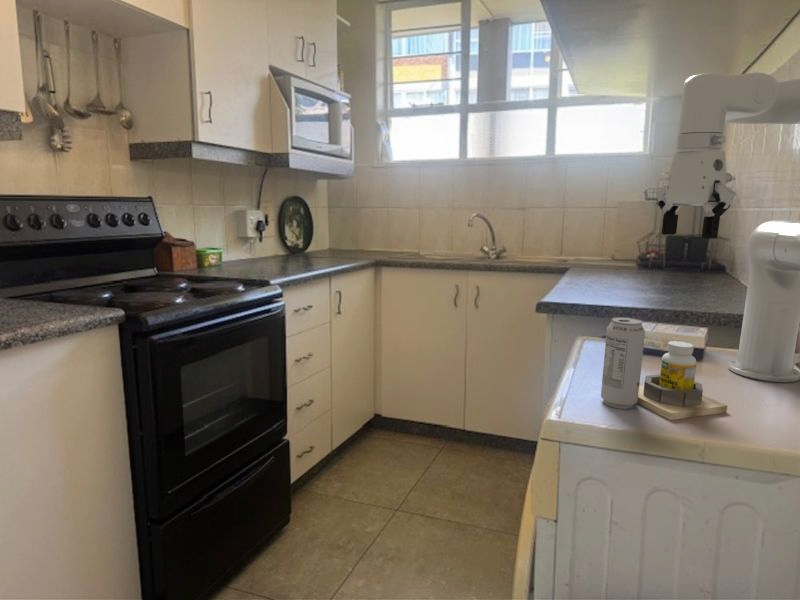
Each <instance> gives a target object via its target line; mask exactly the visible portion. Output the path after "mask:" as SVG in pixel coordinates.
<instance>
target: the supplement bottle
mask: <svg viewBox="0 0 800 600" xmlns="http://www.w3.org/2000/svg"><path fill="white" fill-rule="evenodd" d="M666 349H667V352H665V353H664V354H663V355H662V358H661V364H660V365H661V366H660V372H659V374H660V383H659V386H661V387H663V388H668V389H674V390H681V391H685V390H693V388H694V381H695V379H696V378H695V377H696V371H697V370H696V369H697V360H696V358H695V357H694V356H693V355H692V354H693V353H694V349H695V346H694V345H693V344H692V343H690V342H686V341H678V340H674V341H668V342H667V347H666Z"/></svg>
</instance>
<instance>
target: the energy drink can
mask: <svg viewBox="0 0 800 600" xmlns="http://www.w3.org/2000/svg"><path fill="white" fill-rule="evenodd" d="M642 323H643V320H641V319H637V318H633V317H627V316H619V317H618V316H615V317H612V318H611V322H610V324H609V325H607V327H606V337H605V349H604V356H603V357H604V358H603V368H602V378H601V379H602V380H601V390H600V397H601V399H602V400H603V403H604V404H605V405H606V406H609V407H611V408H614V409H621V410H623V409H624V410H627V409H628V408H629V409H632V408H634V405H635V404H637V402H638V393H639V386H640V381H641V373H642V366H643V365H642V364H643V356H644V345H645V338H646V337H645V336H646V331H645V328H644V327H643V324H642Z"/></svg>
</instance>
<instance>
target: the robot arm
mask: <svg viewBox="0 0 800 600" xmlns="http://www.w3.org/2000/svg"><path fill="white" fill-rule="evenodd" d="M726 124H736V125H737V124H740V125H741V124H743V125H747V124H748V125H749V124H750V125H752V124H753V125H754V124H755V125H757V124H761V125H762V124H763V125H764V124H769V125H771V124H774V125H777V124H778V125H798V124H800V78H799V77H798V78H795V79H789V80H785V81H780V82H779V81H777V79H776V78H774V76H772V75H771V74H769V73H768V74H767V73H765V72H747V73H739V74H738V73H736V74H725V73H721V72H705V73H698V74H694V75H691V76H689V77H688V78H687V79H686V80H685V81H684V83H683V87H682V97H681V104H680V114H679V124H678V131H677V139H676V149H675V153H673V157H672V161H671V163H670V167H669V172H668V177H667V183H666V186H664V187H663V188H661V189H660V190H658V191H657V192H656V198H657V201H658V204H657V205H658V206H659V208H660V213H661V214H662V215H663V216H662V217H663V218H662V225H661V226H662V227H661V235H676V234H677V229H678V223H679V222H678V221H679V214H676V213H677V212H678V211H679V209H680V208H681V207H682V206H690V207H691V206H693V207H695V206H697V207H699V206H700V207H701V206H702V208H703V210H704V212H705V213H706V215H707V216H704V217H703V221H702V229H701V238H702V239H704V240H705V239H717V238H718V236H719V235H718V234H719V228H720V222H721V220H720V219H721V218H722V217H724V216H725V212H727V210H729V209H730V207H731V204H732V202H733V201H734V199H735V197H736V196H737V195H736V194H737V193H736V192H735V191H734V190H733V189H731V188H730V187H728V186H727V158H726V157H727V156H726V151H723V150H722V148H723V144H725V143H726V142H727V138H726V136H725V135H724V132H725V125H726ZM747 258H748V281H747V289H746V297H745V303H744V309H743V318H742V323H741V324H742V325H741V330H740V332H741V333H740V338H739V346H738V351H737V352H738V353H737V357H736V358H734V359H731V360H729V361H728V362H727V368H728V369H729V370H730V372H731V371H732V372H733V373H735V374H736V375H741V376H744V377H746V378H751V379H754V380H755V379H756V380H759V381H764V382H765V381H766V382H774V383H794V382H797V381H800V371H799V370H797V369H796V368H795V365H796V364H800V353H795V351H796V346H797V340H798V335H799V334H798V333H799V326H800V212H799V213H798V216H797V219H796V220H794V219H772V220H768V221H766V222H763V223H761V224H759V225H758V226H757V227H755V228H754V230H753V231H751V234H750V236H749V238H748V242H747Z"/></svg>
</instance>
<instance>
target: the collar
mask: <svg viewBox="0 0 800 600" xmlns="http://www.w3.org/2000/svg"><path fill="white" fill-rule="evenodd" d="M659 383H660V373H659V374H652V375H645V378H644V383H643V384H644V385H639V393H638V402H637V403H636V404H637V405H639V406H640V407H643V408H645V409H647V410H649V411H651V412H653V413H655V414H657V415H659V416H660V417H663V418H665V419H667V420H669V421H675V420H682V419H683V420H684V419H689V418H696V417H703V416H708V415H709V416H710V415H711V416H712V415H717V414H724V413H727V412H728V411H727V410H728V405H727V404H724V403H722V402H720V401H718V400H714V399H712V398H710V397H708V396H706V395H703V392H704V390H703V389H704V388H703V384H702V383H700V382H697V381H695V380H694V388H693V390H685V391H681V390H674V389H668V388H663V387H661V386H659Z"/></svg>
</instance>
